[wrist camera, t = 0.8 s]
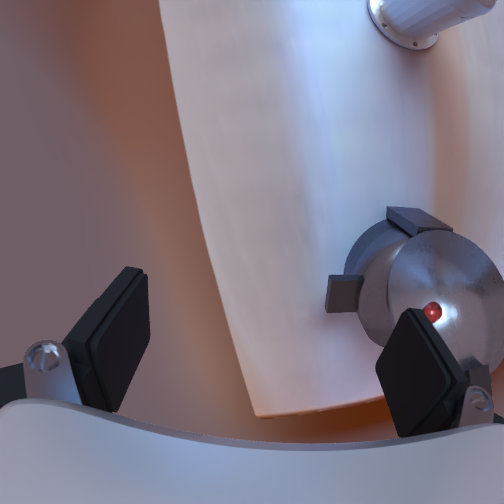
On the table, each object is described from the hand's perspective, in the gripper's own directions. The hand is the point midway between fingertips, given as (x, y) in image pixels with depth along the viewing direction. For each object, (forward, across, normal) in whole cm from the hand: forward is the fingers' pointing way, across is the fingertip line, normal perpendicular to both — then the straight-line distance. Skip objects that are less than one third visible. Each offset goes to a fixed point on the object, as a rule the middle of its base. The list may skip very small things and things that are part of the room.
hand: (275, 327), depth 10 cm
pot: (+33, -24, +11) cm, 42 cm away
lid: (+13, -23, +8) cm, 28 cm away
